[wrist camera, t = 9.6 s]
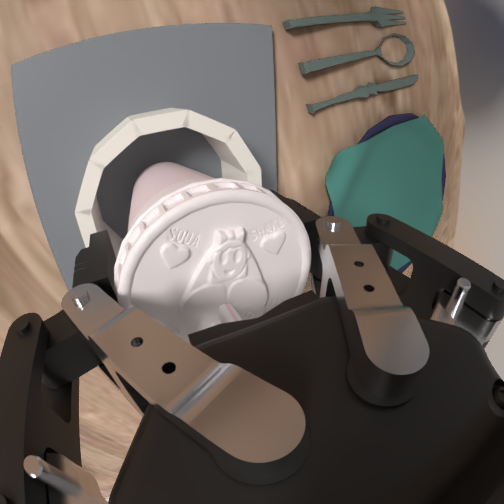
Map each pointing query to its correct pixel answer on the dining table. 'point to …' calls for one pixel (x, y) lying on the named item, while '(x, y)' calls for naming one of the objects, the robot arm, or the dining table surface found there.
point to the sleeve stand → (140, 121)
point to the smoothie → (208, 250)
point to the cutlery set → (384, 149)
